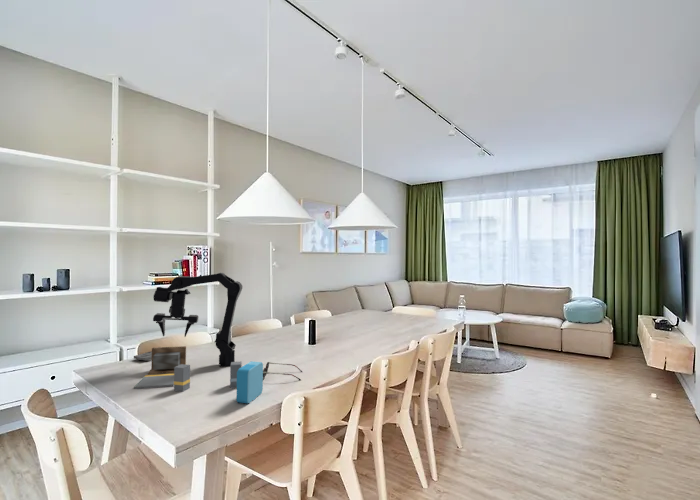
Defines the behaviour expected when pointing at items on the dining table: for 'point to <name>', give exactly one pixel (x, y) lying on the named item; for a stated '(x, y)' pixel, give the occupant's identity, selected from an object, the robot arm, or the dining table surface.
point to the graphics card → (144, 356)
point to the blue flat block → (249, 382)
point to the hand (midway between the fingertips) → (174, 336)
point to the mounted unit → (167, 359)
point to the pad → (156, 381)
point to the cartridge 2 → (234, 373)
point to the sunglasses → (276, 373)
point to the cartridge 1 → (181, 377)
